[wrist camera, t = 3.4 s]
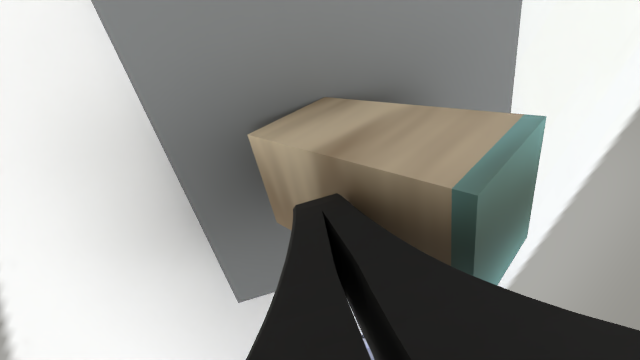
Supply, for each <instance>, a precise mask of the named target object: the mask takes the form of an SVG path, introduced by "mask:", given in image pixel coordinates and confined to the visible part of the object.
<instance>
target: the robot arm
mask: <svg viewBox="0 0 640 360" xmlns="http://www.w3.org/2000/svg"><path fill="white" fill-rule="evenodd" d="M347 300H348V301H347ZM348 302H349V303H348ZM349 304H350V306H349ZM350 307H351V308H350ZM351 309H352V311H353V313H354V315H355V317H356V320H357V322H358V324H359V326H360V328H361V331H362V333H363V335H364V337H365V338H362V336H361V333H360V331H359V328H358V326H357V323H356V321H355V318H354V316H353V313H352V311H351ZM246 360H640V331H639V330H635V329H632V328H628V327H625V326H621V325H618V324H614V323H610V322H607V321H603V320H599V319H596V318H592V317H589V316H585V315H582V314H578V313H575V312H572V311H568V310H565V309H562V308H559V307H556V306H553V305H550V304H547V303H544V302H541V301H538V300H535V299H532V298H529V297H526V296H524V295H521V294H518V293H515V292H513V291H510V290H507V289H504V288H502V287H500V286H497V285H495V284H492V283H490V282H487V281H485V280H482V279H480V278H477V277H475V276H472V275H470V274H467V273H465V272H463V271H460V270H458V269H456V268H454V267H452V266H449V265H447V264H445V263H443V262H441V261H439V260H437V259H435V258H433V257H431V256H429V255H428V254H426V253H424V252H422V251H420V250H418V249H417V248H415V247H413V246H411V245H410V244H408V243H406V242H405V241H403V240H401V239H400V238H398V237H397V236H395V235H393V234H392V233H390V232H389V231H387V230H386V229H384V228H383V227H381V226H380V225H379V224H377V223H376V222H374V221H373V220H371V219H370V218H369V217H367V216H366V215H365V214H363V213H362V212H361V211H359V210H358V209H357V208H356V207H354V206H353V205H352V204H351V203H349V202H348V201H347V200H346V199H345V198H344V197H343V196H341V195H340V194H338V193H335V194H332V195H329V196H325V197H322V198H318V199H315V200H311V201H308V202H304V203H301V204H298V205H295V207H294V208H293V223H292V230H291V237H290V241H289V246H288V250H287V255H286V259H285V262H284V266H283V269H282V272H281V276H280V279H279V282H278V285H277V288H276V291H275V294H274V297H273V300H272V302H271V305H270V307H269V310H268V312H267V315H266V317H265V320H264V322H263V324H262V327H261V329H260V331H259V333H258V335H257V337H256V340H255V342H254V344H253V346H252V348H251V350H250V353H249V355H248V357H247V359H246Z"/></svg>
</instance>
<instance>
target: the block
mask: <svg viewBox="0 0 640 360" xmlns="http://www.w3.org/2000/svg"><path fill="white" fill-rule="evenodd" d="M545 122H546V116H536V115H524V114H513V113H501V112H490V111H478V110H467V109H455V108H444V107H433V106H421V105H410V104H398V103H387V102H375V101H364V100H352V99H341V98H329V97H324V98H322V99H320V100H318V101H316V102H314V103H312V104H309V105H307V106H305V107H303V108H301V109H299V110H297V111H295V112H293V113H291V114H289V115H287V116H285V117H283V118H281V119H278V120H276V121H274V122H272V123H270V124H268V125H266V126H264V127H262V128H260V129H258V130H256V131H254V132H252V133H250V134H247V135H248V138H249V141H250V144H251V147H252V150H253V153H254V156H255V159H256V162H257V165H258V168H259V171H260V174H261V177H262V180H263V183H264V186H265V189H266V192H267V195H268V198H269V201H270V204H271V207H272V210H273V213H274V216H275V219H276V222H277V223H279V224H280V225H282V226H284V227H286V228H288V229H290V230H292V223H293V208H294V207H295V205H298V204H301V203H304V202H308V201H311V200H315V199H318V198H322V197H325V196H329V195H332V194H335V193H338V194H340V195H341V196H343V197H344V198H345V199H346V200H347V201H348V202H349V203H351V204H352V205H353V206H354V207H356V208H357V209H358V210H359V211H361V212H362V213H363V214H365V215H366V216H367V217H369V218H370V219H371V220H373V221H374V222H376V223H377V224H379V225H380V226H381V227H383V228H384V229H386V230H387V231H389V232H390V233H392V234H393V235H395V236H397V237H398V238H400V239H401V240H403V241H405V242H406V243H408V244H410V245H411V246H413V247H415V248H417V249H418V250H420V251H422V252H424V253H426V254H428V255H429V256H431V257H433V258H435V259H437V260H439V261H441V262H443V263H445V264H447V265H449V266H452V267H454V268H456V269H458V270H460V271H463V272H465V273H467V274H470V275H472V276H475V277H477V278H480V279H482V280H485V281H487V282H490V283H492V284H495V285H498V283H499V282H500V280H501V278H502V277H503V275H504V273H505V272H506V270H507V269H508V267H509V265H510V264H511V262H512V260H513V259H514V257H515V256H516V254H517V252H518V251H519V249H520V247H521V246H522V244H523V243H524V241H525V239H526V238H527V234H528V227H529V221H530V215H531V209H532V203H533V196H534V190H535V184H536V178H537V172H538V165H539V159H540V153H541V147H542V141H543V135H544V128H545Z"/></svg>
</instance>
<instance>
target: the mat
mask: <svg viewBox="0 0 640 360" xmlns="http://www.w3.org/2000/svg"><path fill="white" fill-rule="evenodd" d="M91 1H92V3H93V5H94V7H95V9H96V11H97V13H98V15H99V18H100V20H101V22H102V24H103V26H104V28H105V30H106V32H107V34H108V36H109V38H110V40H111V42H112V44H113V46H114V48H115V50H116V52H117V54H118V57H119V59H120V61H121V63H122V65H123V67H124V69H125V71H126V73H127V75H128V77H129V79H130V81H131V83H132V85H133V87H134V89H135V91H136V93H137V96H138V98H139V100H140V102H141V104H142V106H143V108H144V110H145V112H146V114H147V116H148V118H149V120H150V122H151V124H152V126H153V128H154V130H155V133H156V135H157V137H158V139H159V141H160V143H161V145H162V147H163V149H164V151H165V153H166V155H167V157H168V159H169V161H170V163H171V165H172V167H173V169H174V172H175V174H176V176H177V178H178V180H179V182H180V184H181V186H182V188H183V190H184V192H185V194H186V196H187V198H188V200H189V202H190V204H191V206H192V208H193V211H194V213H195V215H196V217H197V219H198V221H199V223H200V225H201V227H202V229H203V231H204V233H205V235H206V237H207V239H208V241H209V243H210V245H211V248H212V250H213V252H214V254H215V256H216V258H217V260H218V262H219V264H220V266H221V268H222V270H223V272H224V274H225V276H226V278H227V280H228V282H229V284H230V287H231V289H232V291H233V293H234V295H235V297H236V299H237V301H238V303H240V302H243V301H246V300H250V299H253V298H256V297H259V296H262V295H266V294H269V293H272V292H275V291H276V288H277V285H278V282H279V279H280V276H281V272H282V269H283V266H284V262H285V259H286V255H287V250H288V246H289V241H290V237H291V230H290V229H288V228H286V227H284V226H282V225H280V224H279V223H277V222H276V219H275V216H274V213H273V210H272V207H271V204H270V201H269V198H268V195H267V192H266V189H265V186H264V183H263V180H262V177H261V174H260V171H259V168H258V165H257V162H256V159H255V156H254V153H253V150H252V147H251V144H250V141H249V138H248V135H247V134H250V133H252V132H254V131H256V130H258V129H260V128H262V127H264V126H266V125H268V124H270V123H272V122H274V121H276V120H278V119H281V118H283V117H285V116H287V115H289V114H291V113H293V112H295V111H297V110H299V109H301V108H303V107H305V106H307V105H309V104H312V103H314V102H316V101H318V100H320V99H322V98H324V97H329V98H341V99H352V100H364V101H375V102H387V103H398V104H410V105H421V106H433V107H444V108H455V109H467V110H478V111H490V112H501V113H511V104H512V94H513V84H514V75H515V65H516V55H517V45H518V36H519V26H520V16H521V6H522V0H91Z"/></svg>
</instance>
